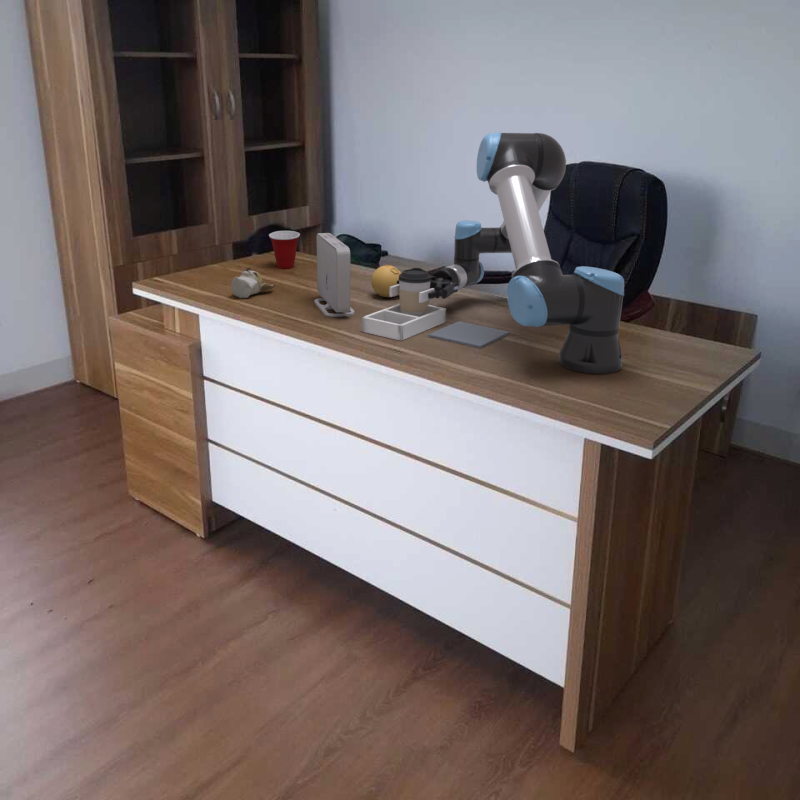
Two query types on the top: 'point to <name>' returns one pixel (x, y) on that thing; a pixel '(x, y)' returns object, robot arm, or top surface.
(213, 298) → the top surface
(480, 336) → the grey mat
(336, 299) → the network device
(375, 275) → the stress ball
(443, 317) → the white rectangular frame
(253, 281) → the ceramic sculpture
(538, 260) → the robot arm
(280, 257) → the plastic cup
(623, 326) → the top surface
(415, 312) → the coffee cup
